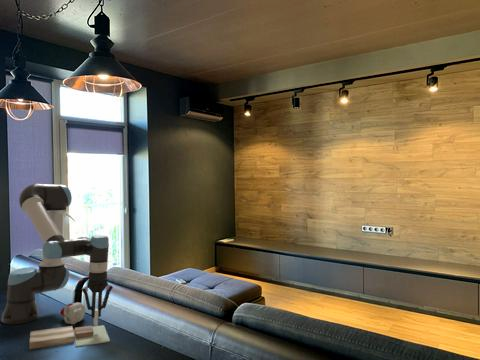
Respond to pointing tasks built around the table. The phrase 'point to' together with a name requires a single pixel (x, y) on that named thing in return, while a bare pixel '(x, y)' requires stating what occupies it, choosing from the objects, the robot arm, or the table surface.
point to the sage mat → (93, 337)
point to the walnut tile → (83, 332)
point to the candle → (73, 312)
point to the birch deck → (51, 337)
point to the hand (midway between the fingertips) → (95, 324)
